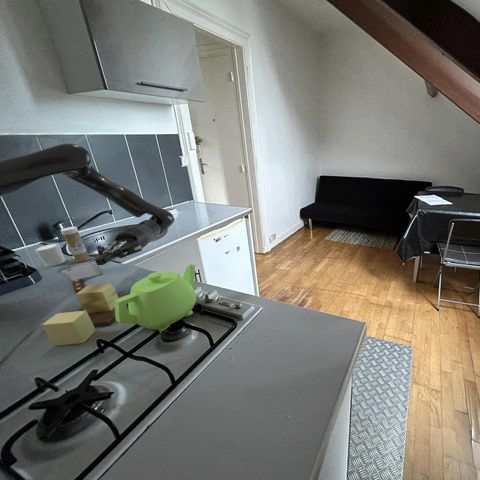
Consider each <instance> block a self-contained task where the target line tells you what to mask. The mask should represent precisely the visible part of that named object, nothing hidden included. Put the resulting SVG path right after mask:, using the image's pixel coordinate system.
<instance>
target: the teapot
mask: <svg viewBox="0 0 480 480" xmlns="http://www.w3.org/2000/svg"><path fill="white" fill-rule="evenodd" d="M184 271H185V272H184V273H183V276H182V275H180V274H179V273H177V272H175V271H170V270H163V271H154V272H151V273H149V274H148V275H146V276H145V277H144V278H141V279H140V280H138V281H137V282H135V283H134V284H133V285H131V286H132V287H131V289H130V292H129V293H130V294H129V295H126V296H124V297H121V298H118V299H115V300H114V302H115V317H116V320H115V321H116V322H117V323H119V324H136V325H138V326H140V327H143V328H146V329H148V330H159V331H160V332H159V331H158V332H159V333H162V332H161V331H163V330H165V329H167V328H168V327H169V326H170V327H171V325H172V324H175V323H176V322H178V321H180V320H181V319H183V318H186V317H189V316H191V315H192V314H193V313H194V312H193V310H192V309H194V307H195V305H196V303H197V299H198V298H197V294H196V292H195V279H196V278H195V276H196V275H195V274H196V264H193V263H192V264H189V265H187V266H186V268H185V270H184ZM127 303H128V308H127V305H126V304H127Z"/></svg>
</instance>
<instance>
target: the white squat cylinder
mask: <svg viewBox="0 0 480 480" xmlns="http://www.w3.org/2000/svg"><path fill="white" fill-rule="evenodd" d="M34 252H35V253H36V255H37V256H38V257H39V259H40V261H41V262H42V263H43V265H44V267H46V268H47V267H48V268H49V267H55V266H58V265H61V264H63V263H65V261H66V260H65V257H64V254H63V251H62V248H61V245H60V243H49V244H45V245H42V246H39V247H37V248H35V249H34Z"/></svg>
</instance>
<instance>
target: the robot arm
mask: <svg viewBox="0 0 480 480" xmlns="http://www.w3.org/2000/svg"><path fill="white" fill-rule="evenodd" d="M60 174H61V175H62V176H64V177H66V178H68V179H70V180H72V181H75V182H77V183H78V184H81V185H83V186H84V187H87V188H89V189H90V190H92V191H94V192H96V193H97V194H99V195H101V196H102V197H104V198H106V199H108V200H109V201H110V202H112V203H113V204H115V205H116V206H118V207H119V208H121V209H122V210H124V211H126V212H127V213H129V214H130V215H132V216H133V217H134V218H141V217H142V216H144V215H150V217H149V219H145V220H143V221H140V222H138V223H137V224H135V225H132V226H130V227H128V228H126V229H124V230H123V231H121V232H119V233H118V234H117V235H116V236H115V239H114V241H112V242H111V243H108V245H107V246H102V245H97V246H96V251H97V254H98V256H97V257H95V259H94V261H95V264H96V265H97V266H105V265H106V264H107V263H109V262H110V261H112V260H117V259H118V258H119V259H123V258H126V257H128V256H129V257H130V256H132V255H134V254H137V253H140V252H142V251H143V249H144V248H145V247H146V246H147V245H149V244H150V243H151V242H152V241H153V240H154V239H156V238H158V237H160V236H162V235H163V234H164V233H165V232H166V231H167V230H168V229H169V228H170V227H171V226H172V225H173V224H174V222H175V216H174V215H173V213H172V212H170V211H169V210H168V209H165V208H163V207H160V206H158V205H156V204H154V203H151V202H149V201H147V200H145V199H144V198H143V197H142V196H140V195H138V194H137V193H136V192H135V191H133V190H131V189H129V188H128V187H125V186H123V185H121V184H119V183H117V182H115V181H113V180H111V179H109V178H107V177H106V176H104V175H103V174H102V173H100V172H99V171H97V170H96V168H94V166H92V155H91V153H90V152H89V150H87V149H86V148H85V147H83V146H82V145H79V144H75V143H61V144H56V145H53V146H50V147H48V148H43V149H41V150H38V151H35V152H32V153H28V154H23V155H19V156H13V157H8V158H2V159H0V198H1V197H5V196H8V195H12V194H13V193H15V192H19V191H20V190H22V189H24V188H26V187H28V186H29V185H31V184H34V183H36V182H37V181H39V180H41V179H44V178H47V177H52V176H55V175H60Z"/></svg>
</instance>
